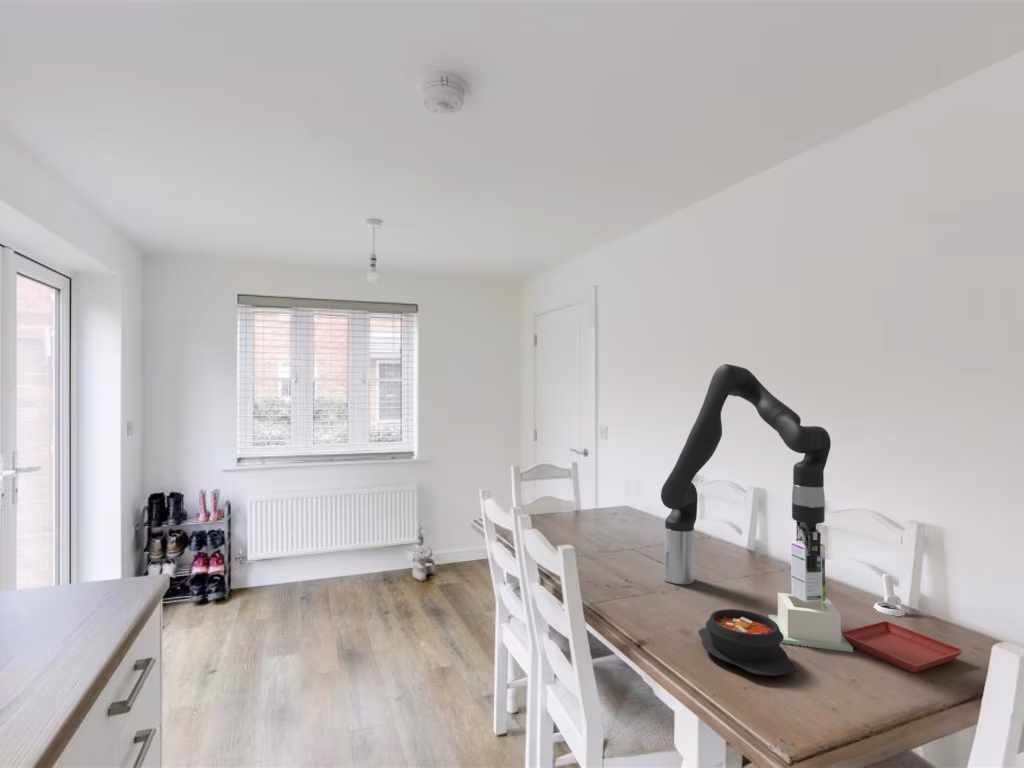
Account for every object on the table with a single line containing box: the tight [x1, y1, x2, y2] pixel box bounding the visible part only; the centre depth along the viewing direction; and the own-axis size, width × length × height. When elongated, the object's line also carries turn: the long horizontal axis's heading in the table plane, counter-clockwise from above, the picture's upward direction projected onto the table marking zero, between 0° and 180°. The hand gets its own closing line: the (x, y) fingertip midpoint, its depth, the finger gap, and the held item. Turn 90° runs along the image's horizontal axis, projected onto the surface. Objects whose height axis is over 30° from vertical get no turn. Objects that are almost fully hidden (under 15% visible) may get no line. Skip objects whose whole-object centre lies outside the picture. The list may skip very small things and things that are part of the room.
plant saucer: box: [841, 620, 964, 673], centre depth 132 cm, size 18×18×3 cm
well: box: [767, 592, 854, 653], centre depth 142 cm, size 16×16×8 cm
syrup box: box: [790, 540, 826, 602], centre depth 142 cm, size 6×6×14 cm
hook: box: [873, 573, 906, 617], centre depth 160 cm, size 8×12×7 cm
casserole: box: [698, 608, 796, 677], centre depth 129 cm, size 25×19×8 cm
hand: (807, 565), depth 142 cm, fingers closed on syrup box, 7 cm apart
